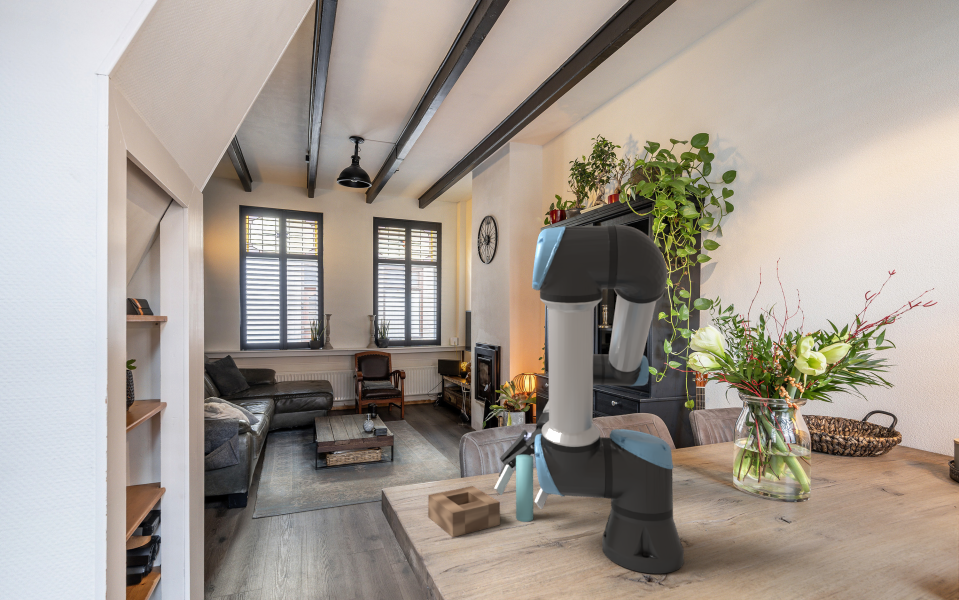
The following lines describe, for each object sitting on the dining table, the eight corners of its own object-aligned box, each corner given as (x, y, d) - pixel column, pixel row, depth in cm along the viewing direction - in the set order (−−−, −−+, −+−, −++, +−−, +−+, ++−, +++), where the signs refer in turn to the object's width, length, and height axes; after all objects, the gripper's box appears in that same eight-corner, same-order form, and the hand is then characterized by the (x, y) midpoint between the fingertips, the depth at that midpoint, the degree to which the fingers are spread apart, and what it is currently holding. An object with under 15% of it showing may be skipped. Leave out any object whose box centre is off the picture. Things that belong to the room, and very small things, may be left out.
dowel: (536, 519, 106) (536, 457, 107) (522, 523, 104) (522, 460, 105) (526, 513, 110) (526, 453, 110) (512, 516, 107) (512, 456, 108)
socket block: (499, 524, 103) (499, 501, 103) (452, 537, 97) (452, 513, 97) (472, 506, 113) (472, 485, 114) (428, 516, 107) (428, 495, 107)
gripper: (602, 436, 111) (567, 522, 99) (525, 422, 127) (487, 494, 115) (591, 417, 107) (553, 503, 95) (513, 405, 123) (472, 477, 111)
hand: (517, 498), depth 105 cm, fingers open, 11 cm apart
